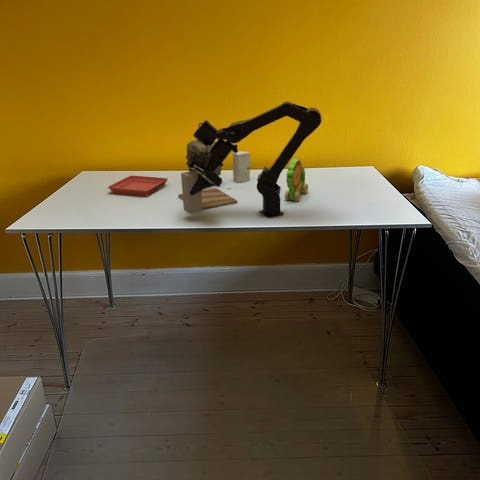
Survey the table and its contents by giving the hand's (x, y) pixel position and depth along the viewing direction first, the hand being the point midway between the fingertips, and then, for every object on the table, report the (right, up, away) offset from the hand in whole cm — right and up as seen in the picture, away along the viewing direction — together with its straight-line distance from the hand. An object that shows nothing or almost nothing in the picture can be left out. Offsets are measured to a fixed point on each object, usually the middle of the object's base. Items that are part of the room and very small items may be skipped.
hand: (187, 192), depth 158 cm
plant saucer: (-24, +4, +36) cm, 43 cm away
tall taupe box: (+1, -6, +3) cm, 7 cm away
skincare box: (+18, +9, +44) cm, 48 cm away
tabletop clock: (+2, +8, +41) cm, 42 cm away
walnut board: (+5, -1, +22) cm, 22 cm away
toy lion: (+38, 0, +22) cm, 44 cm away
